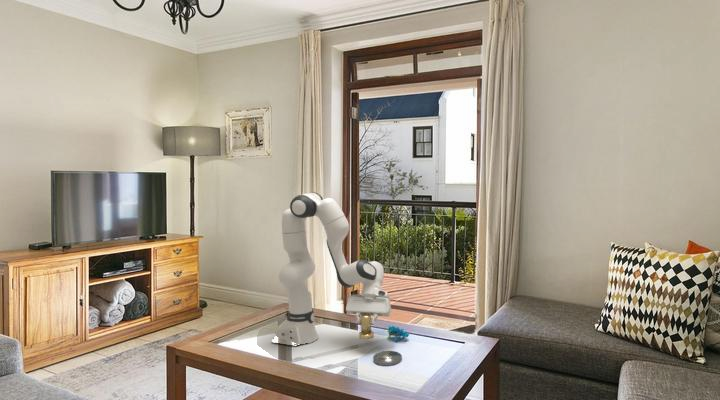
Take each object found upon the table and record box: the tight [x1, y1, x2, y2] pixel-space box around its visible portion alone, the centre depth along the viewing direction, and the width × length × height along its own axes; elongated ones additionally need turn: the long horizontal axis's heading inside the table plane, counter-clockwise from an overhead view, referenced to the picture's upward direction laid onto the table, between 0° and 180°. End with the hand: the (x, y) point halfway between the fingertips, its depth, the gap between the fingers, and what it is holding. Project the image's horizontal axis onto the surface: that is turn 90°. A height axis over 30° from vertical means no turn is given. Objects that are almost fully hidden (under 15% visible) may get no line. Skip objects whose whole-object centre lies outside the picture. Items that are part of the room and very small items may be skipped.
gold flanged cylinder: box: [358, 314, 375, 340], centre depth 197 cm, size 6×6×10 cm
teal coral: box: [387, 325, 410, 343], centre depth 207 cm, size 11×6×10 cm
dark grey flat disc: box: [372, 350, 403, 367], centre depth 188 cm, size 12×12×1 cm
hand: (365, 323), depth 196 cm, fingers closed on gold flanged cylinder, 4 cm apart
